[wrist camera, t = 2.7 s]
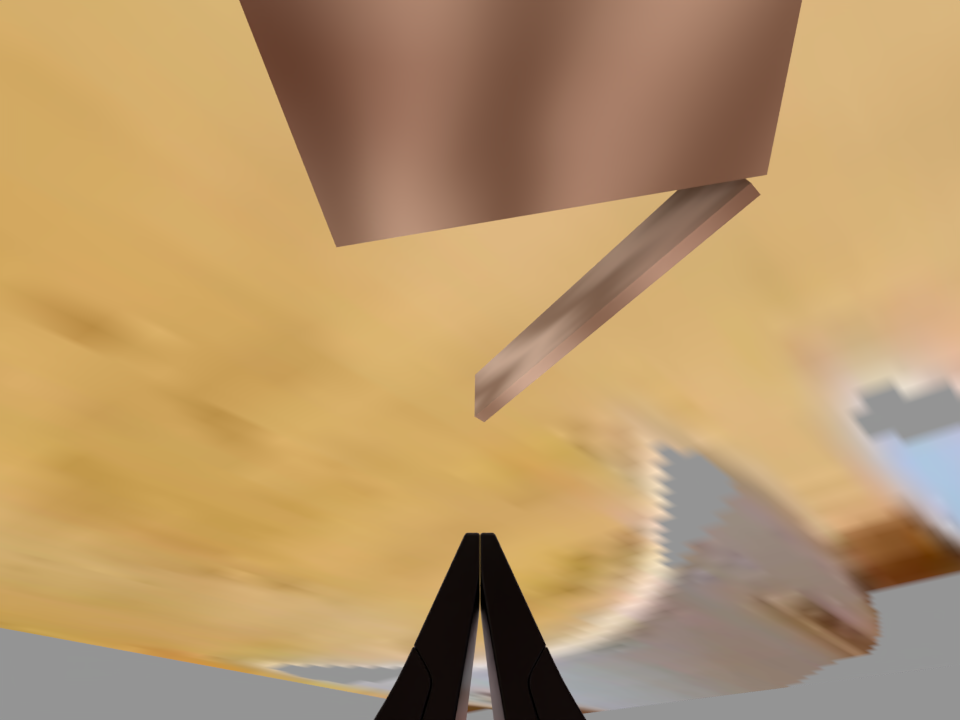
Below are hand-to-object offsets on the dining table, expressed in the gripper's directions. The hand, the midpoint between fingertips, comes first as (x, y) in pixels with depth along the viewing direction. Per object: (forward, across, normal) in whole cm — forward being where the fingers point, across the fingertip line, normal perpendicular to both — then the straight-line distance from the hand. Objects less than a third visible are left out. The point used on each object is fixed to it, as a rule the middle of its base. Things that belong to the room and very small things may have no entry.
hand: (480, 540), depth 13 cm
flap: (+11, +5, +1) cm, 12 cm away
